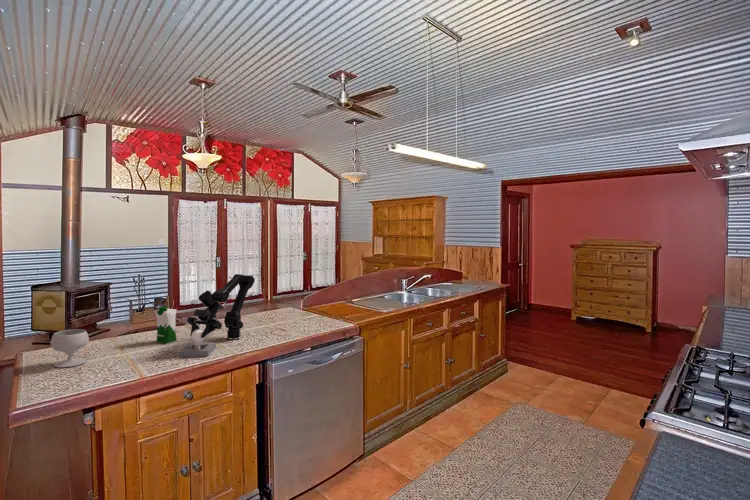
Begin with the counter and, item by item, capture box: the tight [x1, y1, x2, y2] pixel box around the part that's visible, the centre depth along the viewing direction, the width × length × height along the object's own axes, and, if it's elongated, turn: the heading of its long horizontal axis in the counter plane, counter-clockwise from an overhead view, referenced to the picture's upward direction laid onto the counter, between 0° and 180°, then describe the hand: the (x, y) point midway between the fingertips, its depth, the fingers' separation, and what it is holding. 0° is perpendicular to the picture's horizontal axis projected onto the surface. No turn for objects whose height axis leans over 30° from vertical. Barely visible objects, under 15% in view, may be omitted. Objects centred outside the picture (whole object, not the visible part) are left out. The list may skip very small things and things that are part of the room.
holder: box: [177, 342, 217, 358], centre depth 197 cm, size 14×14×3 cm
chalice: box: [50, 328, 90, 368], centre depth 179 cm, size 14×14×15 cm
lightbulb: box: [190, 329, 205, 349], centre depth 197 cm, size 6×6×11 cm
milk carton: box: [154, 306, 178, 345], centre depth 216 cm, size 9×9×20 cm
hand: (196, 337), depth 196 cm, fingers open, 6 cm apart
